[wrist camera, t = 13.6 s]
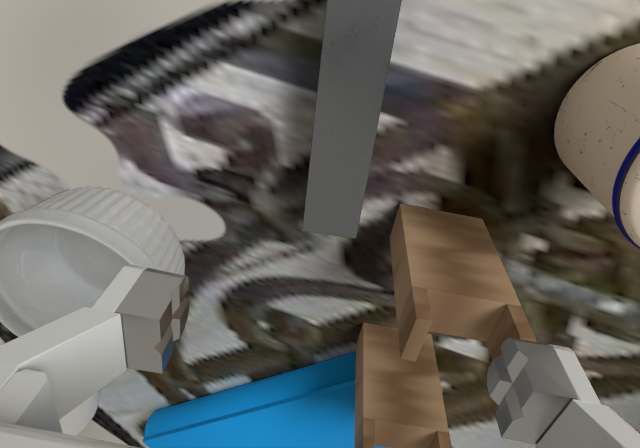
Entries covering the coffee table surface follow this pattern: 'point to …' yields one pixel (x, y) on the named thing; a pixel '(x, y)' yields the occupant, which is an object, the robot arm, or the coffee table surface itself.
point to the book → (267, 412)
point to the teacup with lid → (606, 136)
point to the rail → (347, 111)
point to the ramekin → (76, 253)
